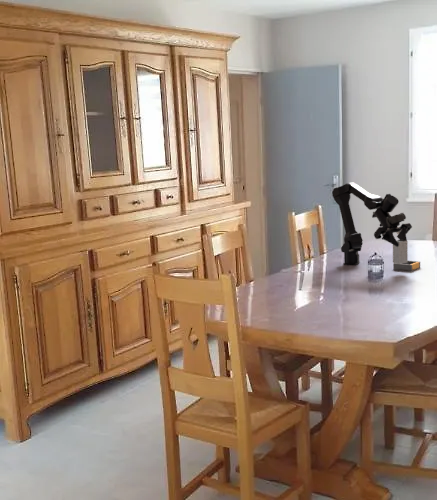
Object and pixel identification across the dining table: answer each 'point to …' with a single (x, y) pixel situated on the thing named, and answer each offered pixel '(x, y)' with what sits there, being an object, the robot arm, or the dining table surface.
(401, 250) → the grey upright block
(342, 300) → the dining table surface
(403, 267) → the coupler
